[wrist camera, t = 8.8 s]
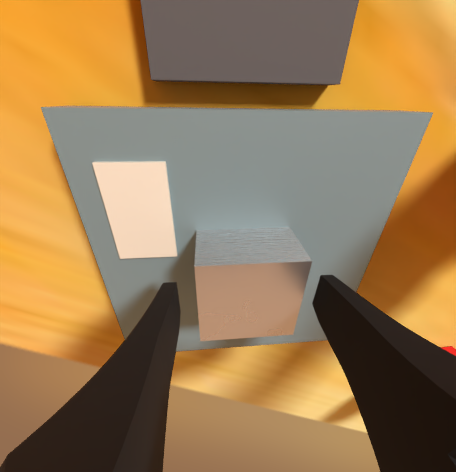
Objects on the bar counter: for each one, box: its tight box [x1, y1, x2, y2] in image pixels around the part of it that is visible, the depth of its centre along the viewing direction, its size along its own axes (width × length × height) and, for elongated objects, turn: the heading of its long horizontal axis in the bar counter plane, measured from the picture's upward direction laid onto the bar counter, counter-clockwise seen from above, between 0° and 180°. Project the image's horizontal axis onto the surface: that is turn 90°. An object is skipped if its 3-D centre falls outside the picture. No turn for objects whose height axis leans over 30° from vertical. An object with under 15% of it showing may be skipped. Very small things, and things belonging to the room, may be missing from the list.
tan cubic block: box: [194, 227, 312, 341], centre depth 13 cm, size 5×5×5 cm
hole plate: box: [41, 106, 433, 351], centre depth 14 cm, size 16×16×2 cm
